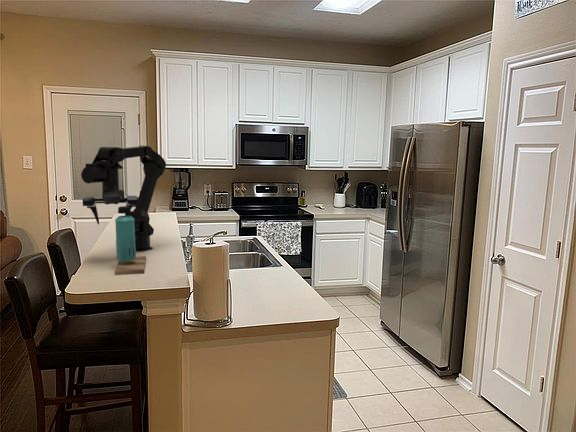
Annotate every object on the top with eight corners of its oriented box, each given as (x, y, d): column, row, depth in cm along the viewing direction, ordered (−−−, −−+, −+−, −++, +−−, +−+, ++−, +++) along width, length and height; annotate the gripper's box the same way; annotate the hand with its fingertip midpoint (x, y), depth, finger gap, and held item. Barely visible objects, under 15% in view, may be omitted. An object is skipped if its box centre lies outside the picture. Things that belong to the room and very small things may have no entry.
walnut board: (120, 260, 156) (120, 257, 155) (146, 259, 158) (146, 256, 158) (114, 274, 139) (114, 271, 138) (143, 273, 141) (143, 269, 141)
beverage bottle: (129, 266, 144) (127, 208, 141) (112, 264, 146) (110, 207, 142) (140, 261, 151) (138, 205, 147) (123, 259, 152) (121, 204, 149)
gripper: (81, 183, 143) (83, 229, 145) (139, 183, 150) (140, 226, 153) (82, 181, 153) (84, 223, 155) (136, 180, 160) (138, 221, 163)
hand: (112, 223), depth 156 cm, fingers open, 9 cm apart
